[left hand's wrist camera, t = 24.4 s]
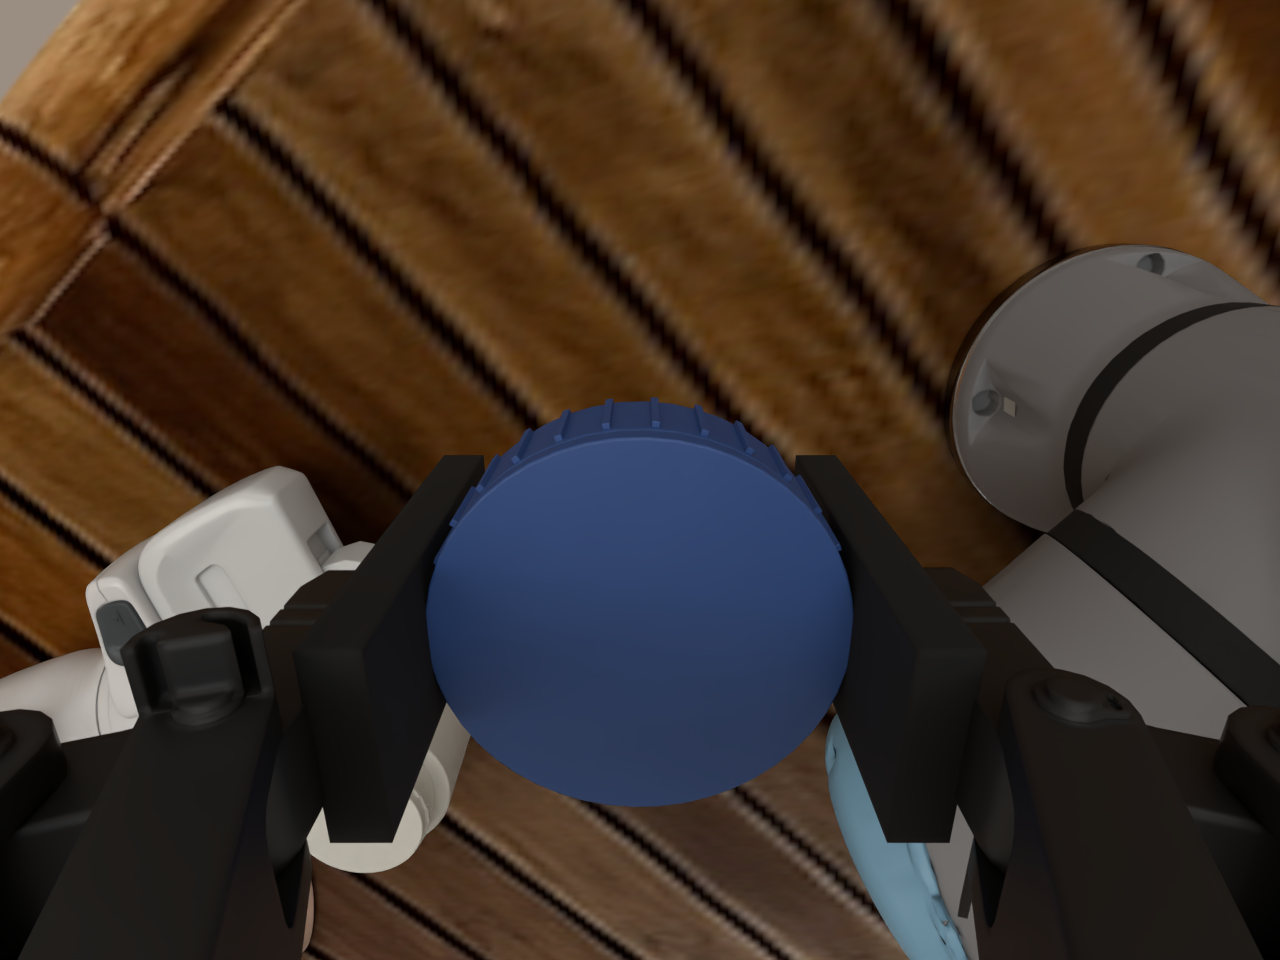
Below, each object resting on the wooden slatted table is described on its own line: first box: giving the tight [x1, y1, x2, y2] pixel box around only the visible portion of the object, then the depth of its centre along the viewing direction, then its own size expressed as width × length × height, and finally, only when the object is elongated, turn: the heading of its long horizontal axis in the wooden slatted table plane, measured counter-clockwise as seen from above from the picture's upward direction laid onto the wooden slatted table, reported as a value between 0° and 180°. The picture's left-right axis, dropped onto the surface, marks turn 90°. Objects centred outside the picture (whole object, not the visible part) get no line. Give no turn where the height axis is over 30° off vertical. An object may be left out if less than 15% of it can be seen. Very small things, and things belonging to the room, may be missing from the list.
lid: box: [426, 397, 853, 807], centre depth 11 cm, size 6×6×2 cm
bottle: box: [307, 703, 471, 873], centre depth 34 cm, size 6×6×19 cm
